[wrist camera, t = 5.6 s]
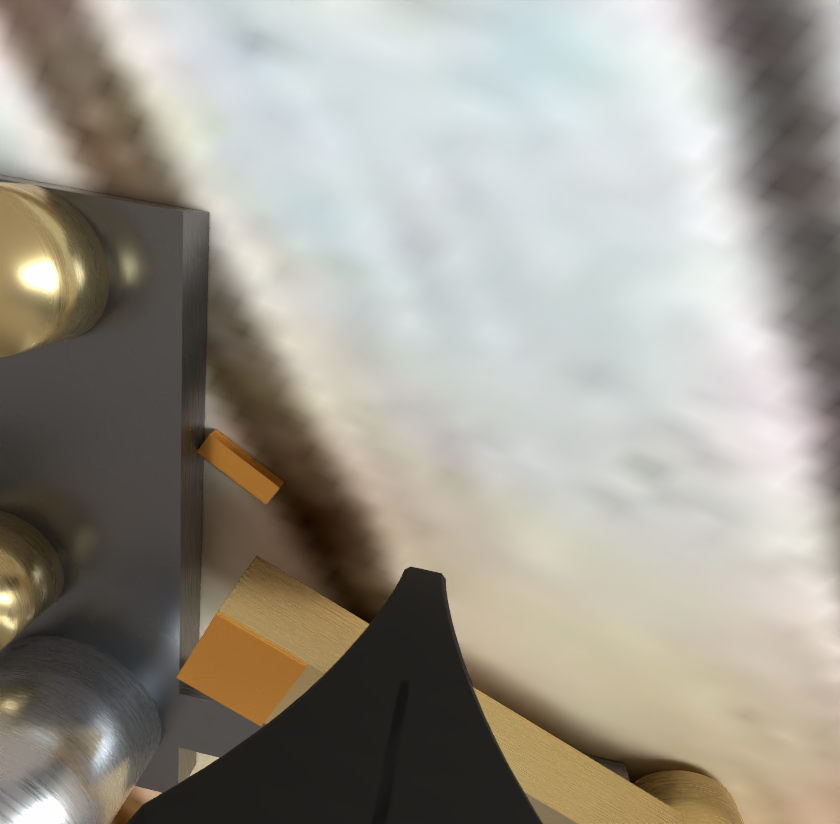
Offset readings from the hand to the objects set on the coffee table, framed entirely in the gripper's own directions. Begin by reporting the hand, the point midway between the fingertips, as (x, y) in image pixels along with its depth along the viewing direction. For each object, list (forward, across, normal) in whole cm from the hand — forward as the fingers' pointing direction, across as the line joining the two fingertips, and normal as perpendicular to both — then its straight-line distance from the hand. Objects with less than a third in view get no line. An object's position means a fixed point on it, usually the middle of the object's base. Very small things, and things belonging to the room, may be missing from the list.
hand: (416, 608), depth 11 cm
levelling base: (+2, +3, +1) cm, 3 cm away
